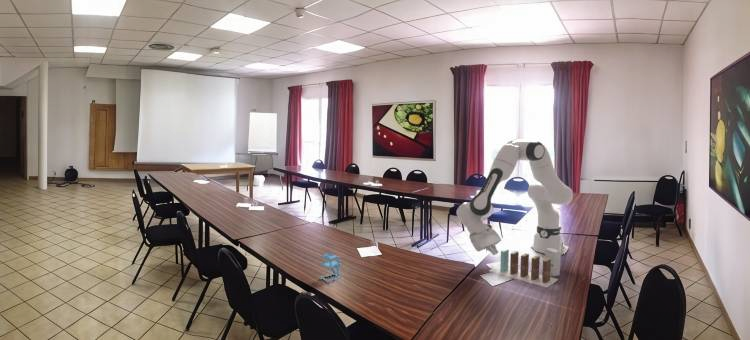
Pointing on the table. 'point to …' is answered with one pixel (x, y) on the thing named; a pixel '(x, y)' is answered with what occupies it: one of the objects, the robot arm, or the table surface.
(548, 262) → the domino
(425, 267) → the table surface
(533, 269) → the domino
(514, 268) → the domino
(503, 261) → the domino
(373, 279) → the table surface
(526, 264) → the domino
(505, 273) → the row mat
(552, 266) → the skincare box
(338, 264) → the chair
